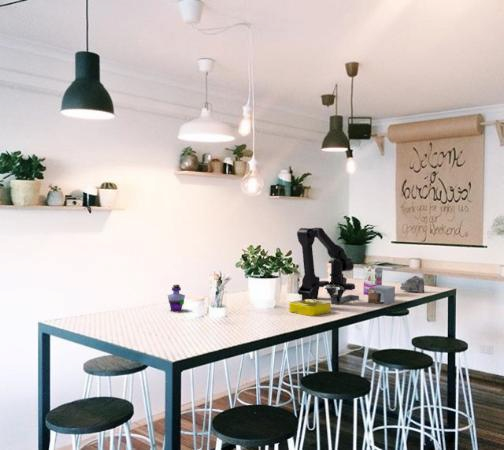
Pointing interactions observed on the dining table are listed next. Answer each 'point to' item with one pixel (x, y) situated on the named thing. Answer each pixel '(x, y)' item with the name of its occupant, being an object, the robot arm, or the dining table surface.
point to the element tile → (309, 307)
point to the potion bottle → (176, 299)
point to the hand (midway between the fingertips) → (335, 301)
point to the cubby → (385, 293)
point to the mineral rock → (413, 285)
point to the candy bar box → (372, 278)
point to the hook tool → (342, 298)
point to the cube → (374, 298)
